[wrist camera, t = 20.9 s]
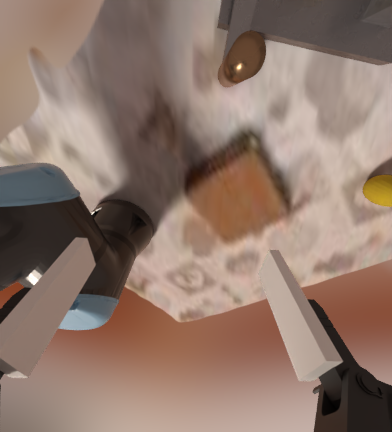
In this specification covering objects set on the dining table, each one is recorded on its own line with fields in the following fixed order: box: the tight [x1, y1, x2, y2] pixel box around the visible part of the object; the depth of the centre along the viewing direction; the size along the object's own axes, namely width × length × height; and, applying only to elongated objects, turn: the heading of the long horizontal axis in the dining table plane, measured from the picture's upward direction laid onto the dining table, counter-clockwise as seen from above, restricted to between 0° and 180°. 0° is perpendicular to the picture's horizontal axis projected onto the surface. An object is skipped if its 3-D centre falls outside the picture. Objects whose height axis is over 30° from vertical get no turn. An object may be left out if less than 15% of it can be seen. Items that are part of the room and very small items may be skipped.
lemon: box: [363, 175, 392, 207], centre depth 33 cm, size 6×6×8 cm
